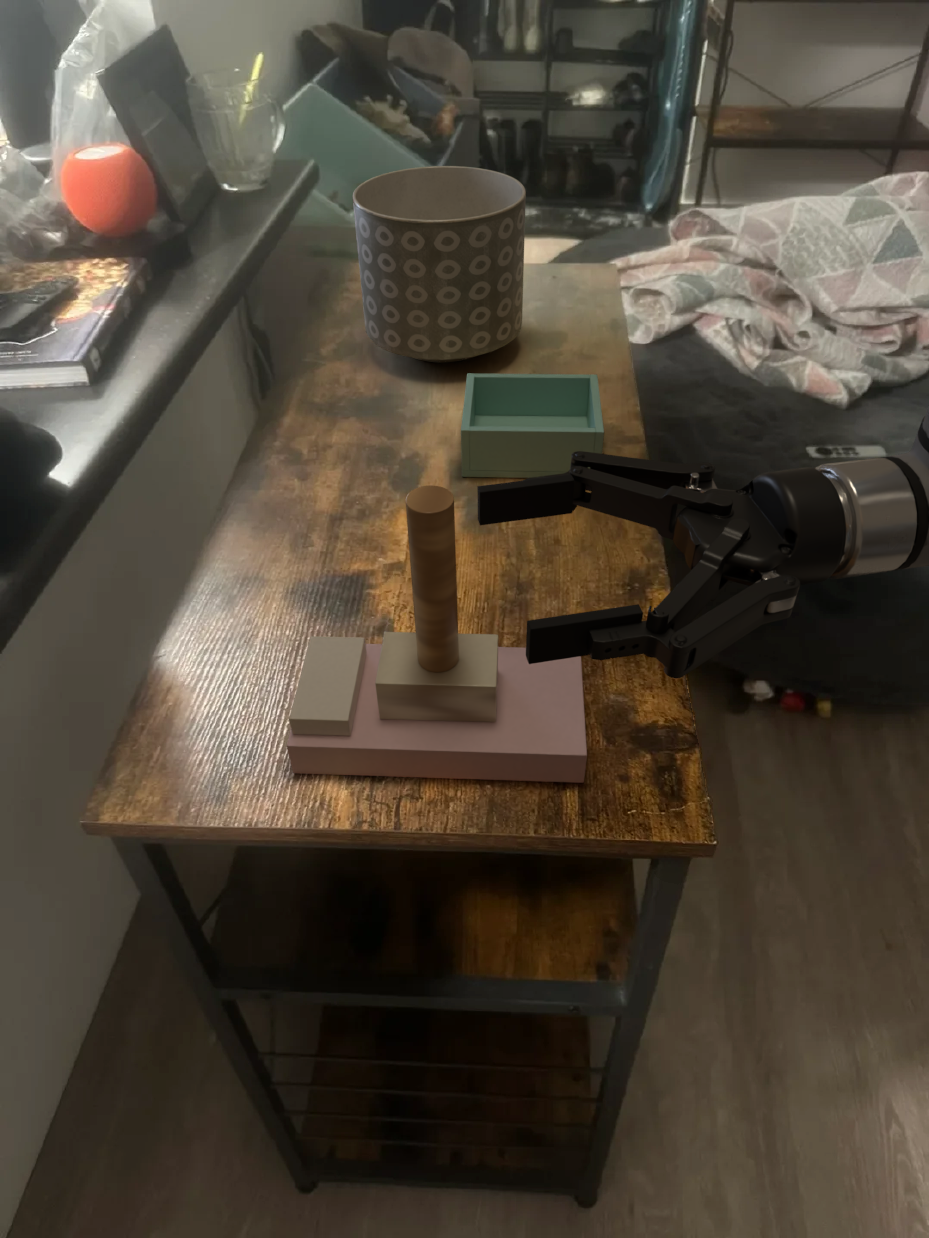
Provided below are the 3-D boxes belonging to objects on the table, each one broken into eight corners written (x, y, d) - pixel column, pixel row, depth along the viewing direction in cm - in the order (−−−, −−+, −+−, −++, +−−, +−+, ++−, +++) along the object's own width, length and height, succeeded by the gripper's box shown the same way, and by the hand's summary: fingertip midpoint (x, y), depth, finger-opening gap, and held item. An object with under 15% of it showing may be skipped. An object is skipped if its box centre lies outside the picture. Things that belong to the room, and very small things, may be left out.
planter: (524, 316, 115) (528, 166, 103) (518, 386, 101) (522, 221, 89) (380, 313, 116) (368, 165, 104) (355, 382, 102) (337, 219, 90)
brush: (498, 670, 64) (500, 475, 52) (496, 722, 60) (497, 525, 49) (388, 667, 64) (366, 473, 53) (379, 719, 60) (354, 523, 49)
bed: (577, 676, 67) (582, 632, 64) (583, 783, 60) (589, 739, 57) (318, 669, 68) (310, 626, 65) (292, 773, 61) (282, 730, 58)
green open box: (593, 419, 95) (597, 374, 92) (599, 479, 87) (604, 432, 83) (467, 418, 96) (467, 373, 92) (461, 477, 87) (460, 430, 84)
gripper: (907, 702, 51) (551, 762, 48) (729, 470, 69) (463, 504, 66) (954, 605, 46) (558, 666, 43) (748, 382, 64) (461, 415, 61)
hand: (500, 568), depth 54 cm, fingers open, 13 cm apart
